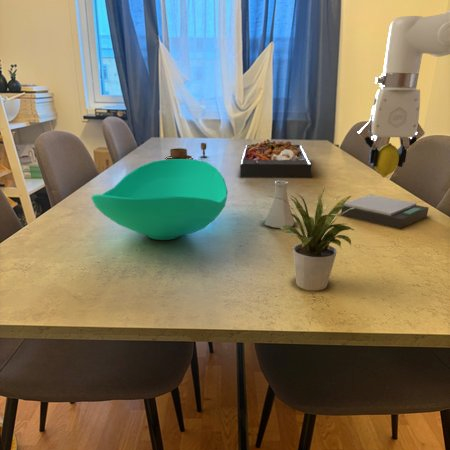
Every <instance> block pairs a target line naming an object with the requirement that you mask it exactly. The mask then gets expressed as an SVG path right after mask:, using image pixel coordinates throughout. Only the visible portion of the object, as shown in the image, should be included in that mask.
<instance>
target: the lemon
mask: <svg viewBox="0 0 450 450" xmlns="http://www.w3.org/2000/svg"><path fill="white" fill-rule="evenodd" d="M377 150H378V158H377V164H376V166H375V167H374V169H375V171H376V172H377V173H378V174H379V175H380V176H381V177H382V178H386V177H387V176H388V175H392V174H393V172H395V171H396V170H397V168H398V167H399V166H398V162H399V152H398V148H397V147H396V146H395V145H393V144H392V143H391V142H388V143H386V144H385V145H382V146H381V147H380V148H378V149H377Z"/></svg>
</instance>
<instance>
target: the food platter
mask: <svg viewBox="0 0 450 450" xmlns="http://www.w3.org/2000/svg"><path fill="white" fill-rule="evenodd" d="M312 165H313V164H312V163H311V161H310V159H309V157H308V155H307V153H306V152H305V149H304V147H303V146H302V145H299V144H292V142H291V141H290V140H287V141H285V142H284V141H282V140H281V141H276V140H272V141H270V140H269V139H266V140H262V141H260V142H256V143H252V144H248V145H246V144H244V151H243V155H242V159H241V162H240V167H239V168H240V171H239V172H240V173H239V174H240V175H239V177H240V178H275V179H276V178H280V179H281V178H282V179H283V178H286V179H287V178H288V179H290V178H292V179H293V178H294V179H295V178H296V179H298V178H299V179H301V178H302V179H311V178H312V167H313V166H312Z"/></svg>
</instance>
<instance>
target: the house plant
mask: <svg viewBox="0 0 450 450" xmlns="http://www.w3.org/2000/svg"><path fill="white" fill-rule="evenodd" d="M325 189H326V187H324V188H323V189H322V191H321V192H320V194H319V195H318V198H317V204H316V209H315V215H314V217H313V216H310V215H309V209H308V206H307V203H306V201H305V199H304V198H303V196H302V195H301V194H299V193H296V195H297V196H298V197H300V198H301V199H302V202H303V205H304V207H303V206H302V205H301V203H300V202H299V200H298V199H297V198H296V197H295V196H293V195H292V194H291V195H290V196H291V197H290V199H291V201H292V202H293V204H294V205H295V207H292V206H291V205H290V203H289V204H288V203H287V202H286V201H285V202H286V203H287V204H288V205H289V206H290V209H291V210H292V211H293V212H294V213H293V212H292V213H287V214H291V215H292V216H293V219H294V220H295V221H296V223H297V225H298V227H299V229H300V232H301V233H300V232H299V231H298V229H297V228H296V227H294V226H290V225H285V226H283V227H282V228H279V230H282V231H283V230H284V231H285V232H283V234H292V235H290V237H295V236H296V237H297V238H298V239H299V240H300V242H301V243H299V244H296V245H295V246H294V247H293V249H292V253H293V261H294V262H293V263H294V273H295V282H296V283H295V284H296V285H297V286H298V287H299V288H301V289H303V290H307V291H315V292H316V291H321V290H324V289H326V288H327V287H328V283H329V281H330V276H331V274H332V270H333V267H334V263H335V260H336V256H337V253H338V252H337V249H336V248H335V247H333V246H332V245H330V244H335V245H337V246H338V247H339V248H340V249H342V242H341V239H342V240H344V241H346V242H347V243H348V244H349V246H352V240H351V238H350V237H349V236H347V235H344V234H339V233H341V232H344V231H350V230H351V231H355V229H353V228H352V227H351V226H349V225H346V224H345V223H335V222H336V220H337V219H338V217H336V216H338V214H339V212H341V209H342V208H343V205H344V203H346V202H348V200H350V198H351V197H352V195H349V196H345V198H343V199H341V200H340V201H338V203H336V204H335V206H334V207H333V208H332V209H331V210H330V211H329V213H327V214H324V212H325V210H326V209H327V208H328V207H329V206H330V205H331V204H332V203H333V202H334V201H336V200H337V199H338V198H340V197H341V195H340V196H337V197H336V198H334V199H332V201H330V202H328V204H327V205H326V206H325V207H324V206H323V201H322V197H323V194H324V192H325ZM269 197H270V198H274V196H271V195H270V196H269ZM275 198H278V197H275ZM278 199H281V198H278ZM281 200H283V199H281ZM283 201H284V200H283ZM323 208H324V209H323ZM354 208H357V207H354ZM294 209H296V210H297V211H298V213H299V215H300V216H301V219H302V221H303V223H302V222H301V220H300V218H299V216H298V215H297V214H296V212H295V210H294ZM351 209H353V208H351ZM349 210H350V209H349ZM347 211H348V210H347ZM345 212H346V211H345ZM345 212H344V213H345ZM340 216H343V215H342V214H341V213H340ZM340 216H339V217H340ZM333 223H334V224H333ZM303 225H304V226H303ZM339 239H340V240H339Z"/></svg>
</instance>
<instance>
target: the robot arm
mask: <svg viewBox="0 0 450 450" xmlns="http://www.w3.org/2000/svg"><path fill="white" fill-rule="evenodd" d="M388 29H389V30H388V34H387V35H388V36H387V43H386V51H385V57H384V64H383V71H382V73H381V75H380V76H376V77H375V82H374V83H375V84H377V85H379V87H380V89H377V91H376V94H375V97H374V100H373V104H372V107H371V111H370V116H369V120H368V121H367V122H366V123H365V125H363V126H362V127H361V128H360V129H359V131H357V134H358V136H359V137H360V138H361V139H362V140H363V142H365V144H366V145H367V146H368V148H369V153H368V160H367V161H368V164H369V166H370V167H372V168H375V166H376V164H377V158H378V150H379V149H378V147H379V146H378V145H379V144H380V142H381V139H382V138H399V145H400V146H399V147H398V148H397V150H398V152H399V162H398V166H397V167H399V168H403V166H404V164H405V162H406V159H407V153H408V150H410V149H411V147H412V146H413V145H414V144H415V143H417V141H419V139H421V138H422V137H423V136H424V135H425V131H424V129H423V128H422V126H421V124H420V123H419V121H420V111H421V110H420V108H421V89H417V87H418V81H419V75H420V71H421V70H420V69H421V64H422V58H423V54H426V55H430V56H432V57H436V58H437V57H438V58H440V57H445V56H449V55H450V9H448V10H447V11H446V12H445V13H441V14H440V13H439V14H435V15H429V16H421V15H406V16H399V17H396V18H394V19H392V21H391V23H390V25H389V28H388ZM368 133H369V134H370V135H372V136H371V137H370V136H369V135H368Z"/></svg>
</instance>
